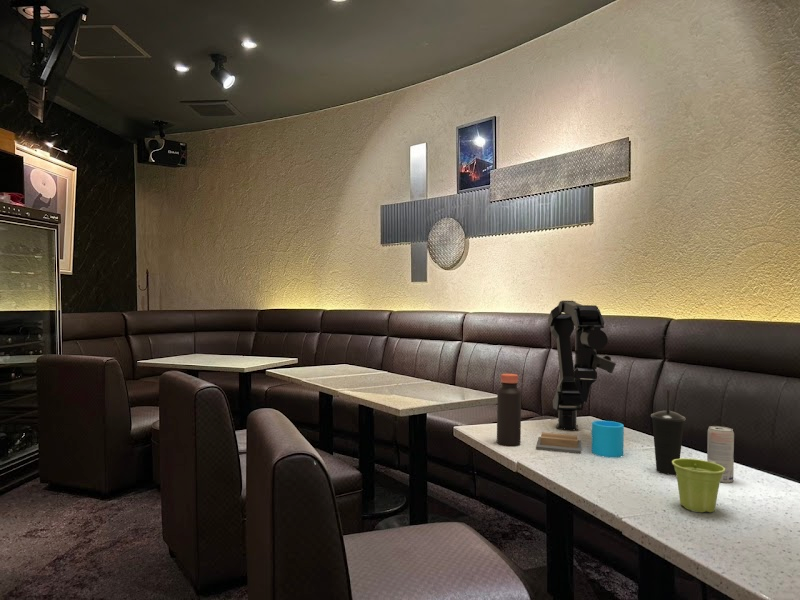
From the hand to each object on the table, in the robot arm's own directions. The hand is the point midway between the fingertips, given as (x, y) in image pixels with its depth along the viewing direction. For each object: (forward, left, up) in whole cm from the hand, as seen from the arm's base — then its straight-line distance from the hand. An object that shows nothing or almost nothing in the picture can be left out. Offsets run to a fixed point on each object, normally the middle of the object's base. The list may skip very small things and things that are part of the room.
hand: (584, 399), depth 161 cm
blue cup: (+10, +5, -13) cm, 17 cm away
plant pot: (+48, +21, -13) cm, 54 cm away
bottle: (+11, -21, -13) cm, 27 cm away
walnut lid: (+9, -7, -12) cm, 16 cm away
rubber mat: (+9, -7, -12) cm, 17 cm away
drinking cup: (+24, +19, -13) cm, 33 cm away
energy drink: (+26, +30, -13) cm, 42 cm away
